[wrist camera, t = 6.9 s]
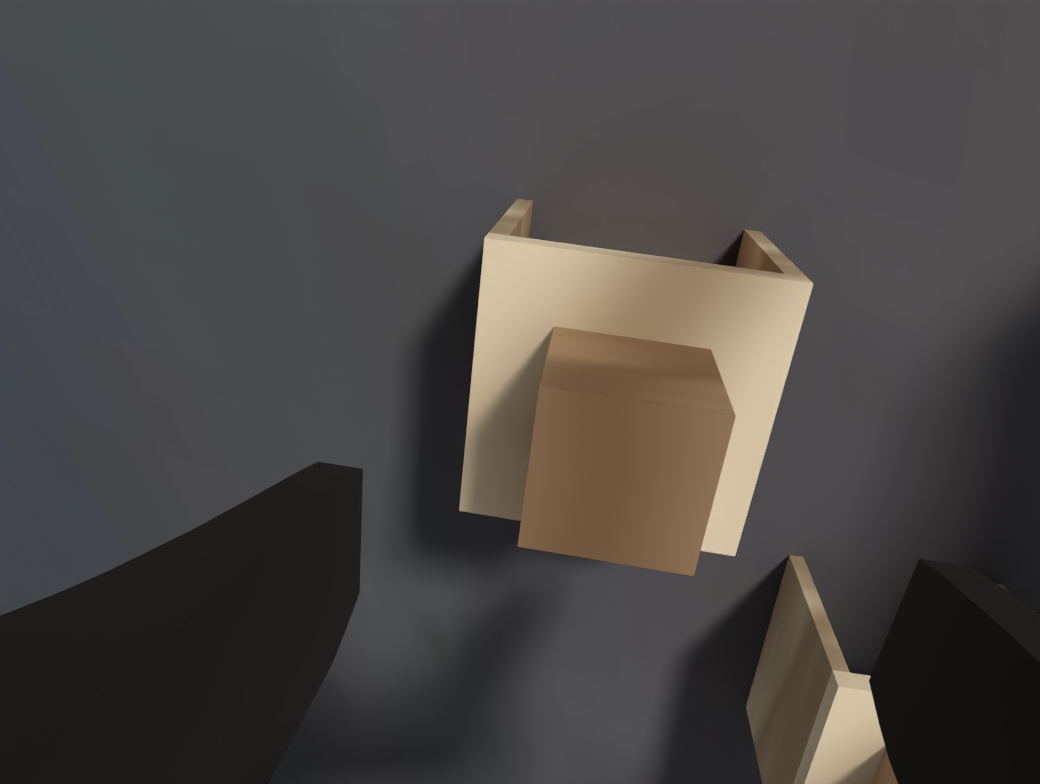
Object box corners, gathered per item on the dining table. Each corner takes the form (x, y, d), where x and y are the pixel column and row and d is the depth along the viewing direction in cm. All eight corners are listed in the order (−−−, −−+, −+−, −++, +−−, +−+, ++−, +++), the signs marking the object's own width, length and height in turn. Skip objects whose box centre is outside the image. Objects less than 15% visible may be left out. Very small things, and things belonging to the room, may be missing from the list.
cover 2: (1003, 584, 20) (1221, 863, 13) (936, 736, 23) (1089, 1042, 15) (789, 554, 21) (883, 807, 14) (745, 706, 23) (806, 990, 16)
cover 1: (760, 231, 17) (867, 337, 10) (707, 447, 20) (761, 659, 12) (517, 198, 18) (450, 278, 10) (494, 415, 20) (426, 601, 13)
